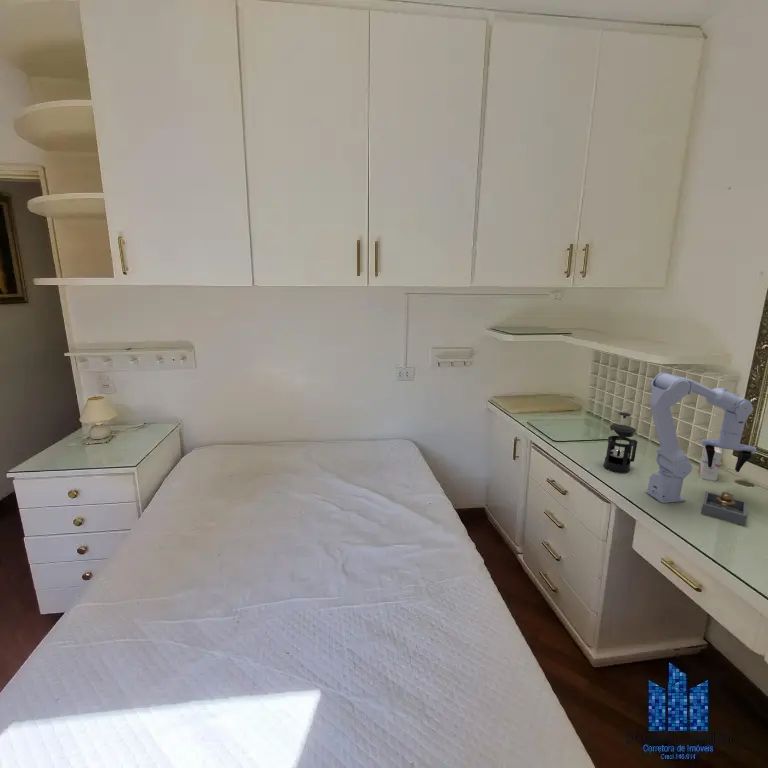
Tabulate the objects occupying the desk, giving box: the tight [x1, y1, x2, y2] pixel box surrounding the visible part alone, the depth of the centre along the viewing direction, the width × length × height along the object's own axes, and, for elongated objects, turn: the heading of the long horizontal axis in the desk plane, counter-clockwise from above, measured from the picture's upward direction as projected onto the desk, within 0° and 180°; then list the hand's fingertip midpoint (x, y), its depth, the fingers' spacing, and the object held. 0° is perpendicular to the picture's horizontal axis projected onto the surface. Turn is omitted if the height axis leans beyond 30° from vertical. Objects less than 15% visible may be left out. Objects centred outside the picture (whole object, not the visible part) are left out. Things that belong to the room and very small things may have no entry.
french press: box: [603, 411, 638, 474], centre depth 170 cm, size 12×9×23 cm
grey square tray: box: [700, 490, 748, 527], centre depth 141 cm, size 11×11×4 cm
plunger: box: [709, 491, 739, 513], centre depth 141 cm, size 8×8×6 cm
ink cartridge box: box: [698, 446, 724, 482], centre depth 166 cm, size 9×5×15 cm, turn 151°
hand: (723, 468), depth 150 cm, fingers open, 7 cm apart
